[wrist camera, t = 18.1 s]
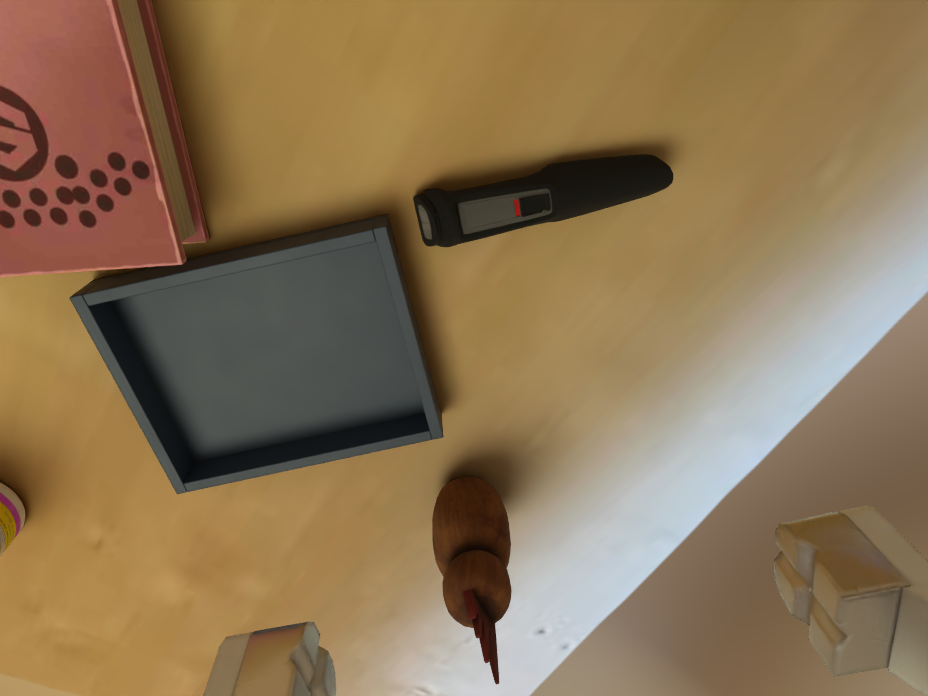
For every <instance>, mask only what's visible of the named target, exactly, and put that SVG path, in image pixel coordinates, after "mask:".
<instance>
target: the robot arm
mask: <svg viewBox="0 0 928 696" xmlns="http://www.w3.org/2000/svg"><path fill="white" fill-rule="evenodd" d="M775 542H776V543H777V545H778V546H779V547H780V549H781V550H782V551H781V552H780V553H779V555H778V556H777V557H776V558H775V559H774V575H775V579H776V582H777V586H778V590H779V592H780V594H781V596H782V598H783V600H784V602H785V604H786V606H787V607H788V608H789V610H790V612H791V613H792V615H793V616H794V617H796V618H797V619H799V620H801V621H803V622H804V623H806V624H808V625H810V630H809V641H810V642H811V644H812V645H813V647H814V648H815V650H816V651H817V653H818V654H819V656H820V657H821V659H822V660H823V661H824V663H825V664H826V666H827V667H828V669H829V670H830V672H831V673H832V675H833V676H834V677H835V676H840V675H846V674H852V673H858V672H864V671H870V670H876V669H881V668H888V667H889V668H888V671H890V672H891V673H893V674H894V675H895V676H897V677H899V678H900V679H901V680H903V681H904V682H906V683H907V684H909V685H910V686H912V687H913V688H915V689H916V690H918V691H919V692H920V693H922V694H923V695H925V696H928V560H927V559H926V558H925V557H924V556H923V555H922V554H921V553H920V552H919V551H918V550H917V549H916V548H915V547H914V546H913V545H912V544H911V543H910V542H909V541H908V540H907V539H906V538H905V537H904V536H903V535H902V534H901V533H900V532H899V531H898V530H897V529H896V528H895V527H894V526H893V525H892V524H891V523H890V522H889V521H888V520H887V519H886V518H884V517H883V515H882V514H881V513H879V512H878V510H876V509H875V508H873V507H871V506H869V505H867V506H862V507H858V508H853V509H848V510H843V511H839V512H837V513H836V512H832V513H828V514H823V515H819V516H814V517H809V518H805V519H800V520H796V521H791V522H787V523H782V524H779V525H778V527H777V528H776V531H775ZM319 638H320V633H319V631H318V629H317V627H316V625H315V624H314V622H304V623H299V624H293V625H287V626H282V627H276V628H271V629H265V630H259V631H254V632H250V633H245V634H239V635H234V636H229V637H226V638H225V640H224V641H223V642H222V644H221V645H220V647H219V649H218V652H217V655H216V658H215V662H214V665H213V668H212V671H211V674H210V677H209V680H208V683H207V686H206V689H205V692H204V695H203V696H336V677H335V670H334V666H333V662H332V659H331V657H330V654H329V652H328V651H327V650H325V649H324V648H322V647H320V646H318V644H319Z"/></svg>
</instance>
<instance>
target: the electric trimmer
mask: <svg viewBox="0 0 928 696" xmlns="http://www.w3.org/2000/svg"><path fill="white" fill-rule="evenodd" d="M672 181H673V173H672V170H671V168H670V167H669V166H668V165H667V164H666V163H665V162H663V161H662V160H660V159H659V158H657V157H656V156H654V155H647V154H644V155H630V156H619V157H608V158H598V159H588V160H577V161H568V162H561V163H554V164H550V165H548V166H546V167H545V168H544V169H542V170H541V171H539V172H537V173H535V174H532V175H530V176H527V177H523V178H518V179H513V180H508V181H503V182H498V183H494V184H489V185H484V186H479V187H473V188H467V189H461V190H455V191H446V190H441V189H437V188H431V189H426V190H424V191H423V193H422V194H420V195H416V196H414V197H413V200H414V204H415V209H416V213H417V217H418V222H419V226H420V230H421V235H422V239H423V241H424V243H425V244H426V245H427V246H435V245H438V246H440V247H451V246H454V245H457V244H461V243H465V242H469V241H473V240H477V239H482V238H486V237H489V236H493V235H497V234H501V233H505V232H508V231H512V230H516V229H520V228H523V227H527V226H532V225H536V224H541V223H546V222H556V221H561V220H565V219H569V218H573V217H577V216H580V215H584V214H587V213H591V212H594V211H598V210H601V209H605V208H608V207H611V206H615V205H618V204H622V203H625V202H629V201H632V200H636V199H639V198H642V197H646V196H649V195H651V194H654V193H656V192H659V191H661V190H663V189H665V188H667V187H668V186H669V185H670V184H671V183H672Z"/></svg>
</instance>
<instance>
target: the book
mask: <svg viewBox="0 0 928 696" xmlns="http://www.w3.org/2000/svg"><path fill="white" fill-rule="evenodd" d="M208 240H209V235H208V231H207V227H206V223H205V219H204V215H203V211H202V206H201V202H200V198H199V194H198V190H197V186H196V182H195V178H194V174H193V170H192V165H191V161H190V157H189V153H188V149H187V145H186V141H185V137H184V133H183V128H182V124H181V120H180V116H179V112H178V108H177V104H176V100H175V96H174V92H173V87H172V83H171V79H170V75H169V71H168V67H167V63H166V59H165V55H164V50H163V46H162V42H161V38H160V34H159V30H158V26H157V22H156V18H155V14H154V9H153V5H152V1H151V0H0V277H6V276H21V275H36V274H51V273H65V272H80V271H95V270H110V269H124V268H139V267H154V266H168V265H182V264H184V263H185V262H186V261H187V260H186V256H185V252H184V248H183V245H182V244H189V243H204V242H207V241H208Z"/></svg>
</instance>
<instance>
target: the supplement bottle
mask: <svg viewBox="0 0 928 696" xmlns="http://www.w3.org/2000/svg"><path fill="white" fill-rule="evenodd" d="M24 522H25V509H24V506H23V504H22V502H21V500H20V499H19V497H18V496H17V495H16V494H15V493H14V492H13V491H12V490H11V489H10V488H9V487H7V486H6V485H4V484H2V483H1V482H0V555H1V554H2V553H3V552H4V551H5V549H6V548H7V547H8V546H9V545H10V543H11V542H12V541H13V540H14V538H15V537H16V536H17V534H18V533H19V532H20V531H21V529H22V527H23V525H24Z"/></svg>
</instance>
